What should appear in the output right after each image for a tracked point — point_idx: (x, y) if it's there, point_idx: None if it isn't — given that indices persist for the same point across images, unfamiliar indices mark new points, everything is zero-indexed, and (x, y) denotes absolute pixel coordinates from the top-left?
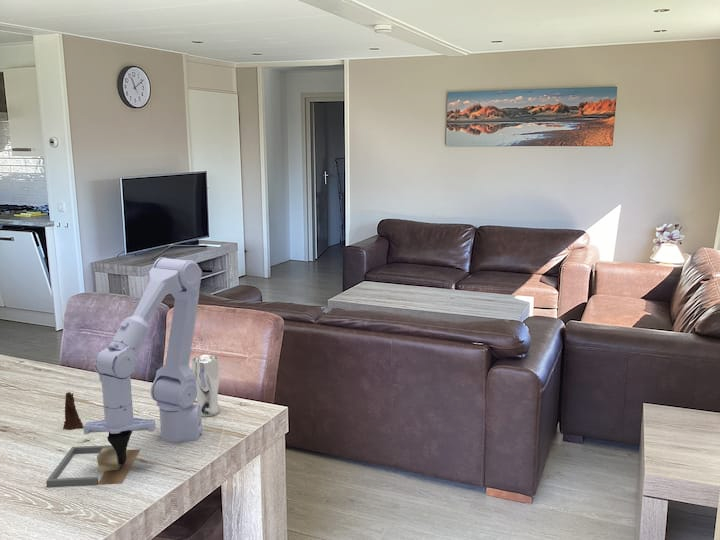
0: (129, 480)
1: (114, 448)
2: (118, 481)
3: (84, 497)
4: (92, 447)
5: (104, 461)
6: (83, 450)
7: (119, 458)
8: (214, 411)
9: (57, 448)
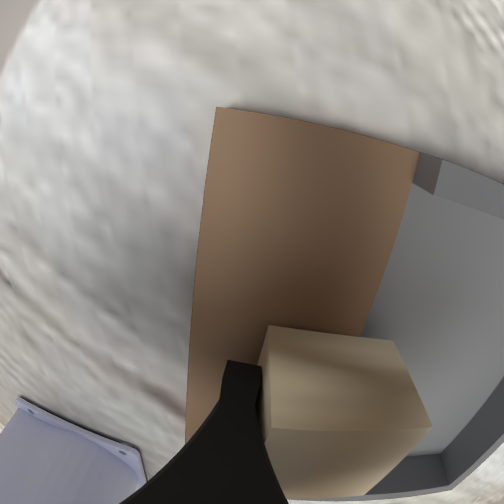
0: (194, 223)
1: (276, 489)
2: (250, 144)
3: (467, 89)
4: (390, 493)
5: (372, 390)
6: (420, 480)
7: (247, 397)
8: None
9: None
